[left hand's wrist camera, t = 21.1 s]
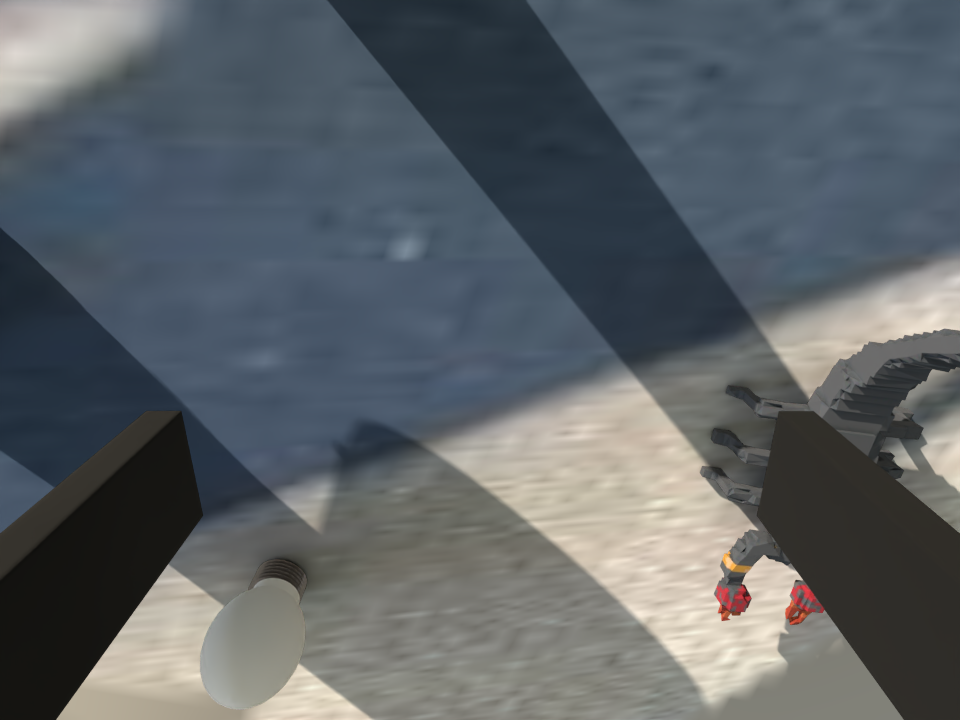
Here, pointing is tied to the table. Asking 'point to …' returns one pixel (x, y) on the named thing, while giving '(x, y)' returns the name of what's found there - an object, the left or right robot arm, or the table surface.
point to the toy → (853, 413)
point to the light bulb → (256, 638)
